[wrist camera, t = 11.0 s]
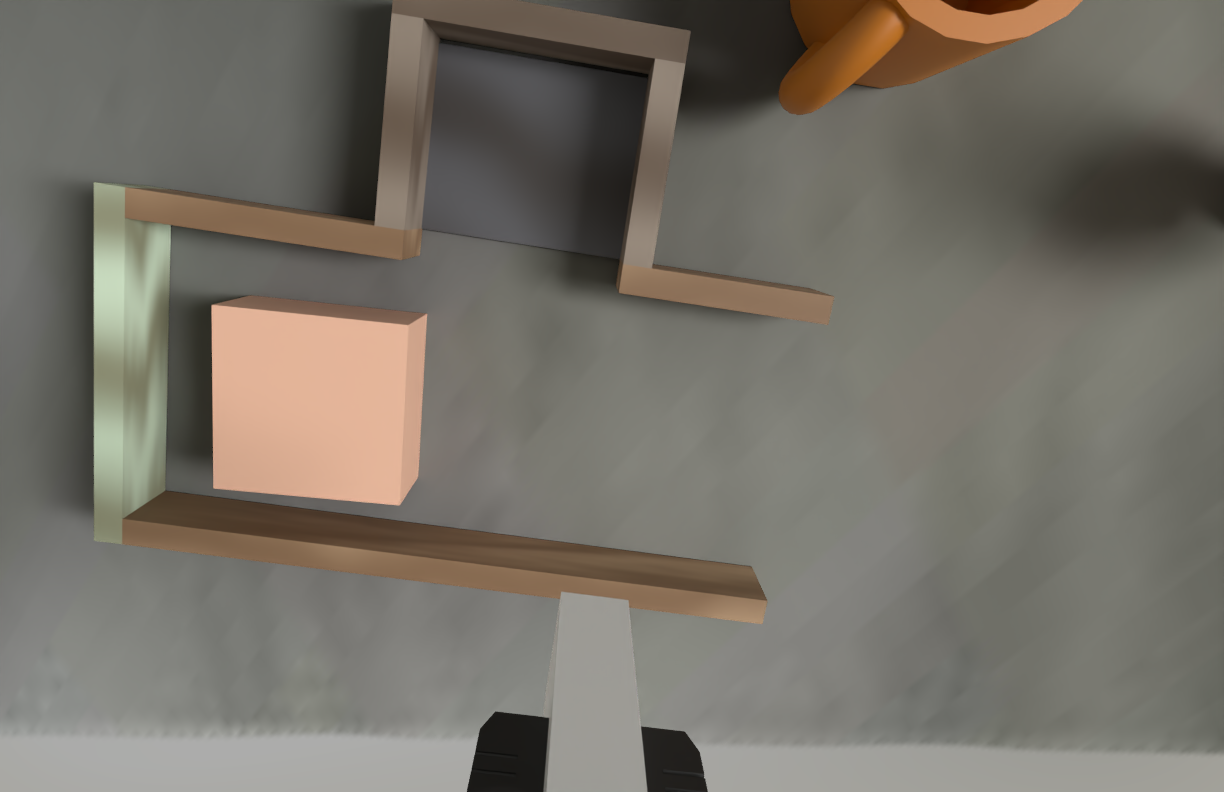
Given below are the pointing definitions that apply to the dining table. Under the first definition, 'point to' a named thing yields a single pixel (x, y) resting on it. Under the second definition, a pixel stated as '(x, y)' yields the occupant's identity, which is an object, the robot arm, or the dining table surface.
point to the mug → (900, 41)
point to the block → (316, 399)
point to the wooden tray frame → (407, 203)
